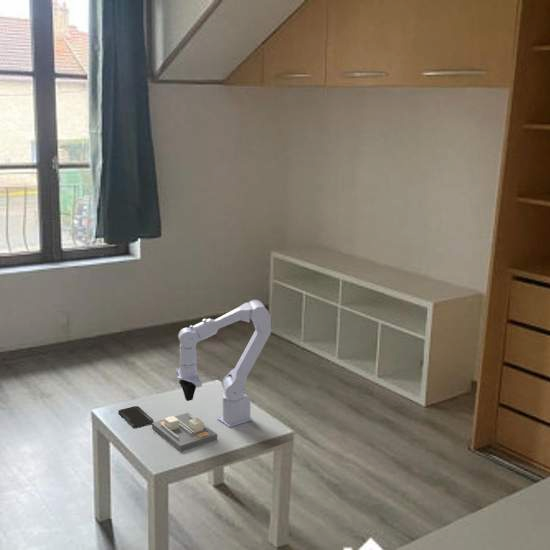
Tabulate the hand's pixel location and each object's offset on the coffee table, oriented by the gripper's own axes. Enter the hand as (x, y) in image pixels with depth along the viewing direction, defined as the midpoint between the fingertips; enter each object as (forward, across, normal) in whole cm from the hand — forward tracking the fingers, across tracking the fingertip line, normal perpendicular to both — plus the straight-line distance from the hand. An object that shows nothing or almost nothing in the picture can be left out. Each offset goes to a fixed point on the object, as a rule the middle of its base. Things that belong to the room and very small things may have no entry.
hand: (189, 399), depth 250 cm
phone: (+10, -16, -13) cm, 23 cm away
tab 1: (+7, +2, -8) cm, 11 cm away
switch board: (+9, +5, -5) cm, 12 cm away
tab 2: (+7, +8, -2) cm, 11 cm away
